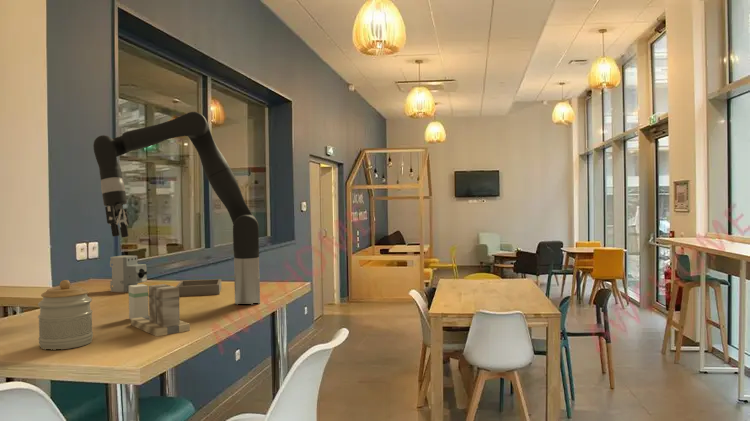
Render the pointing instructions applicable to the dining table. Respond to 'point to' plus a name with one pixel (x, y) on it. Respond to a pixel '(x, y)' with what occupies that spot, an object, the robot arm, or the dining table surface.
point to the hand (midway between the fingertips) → (120, 236)
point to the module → (138, 301)
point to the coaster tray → (199, 287)
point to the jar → (65, 317)
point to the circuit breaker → (126, 273)
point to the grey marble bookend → (162, 312)
